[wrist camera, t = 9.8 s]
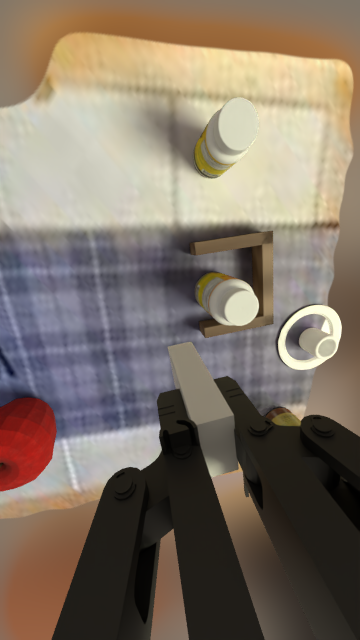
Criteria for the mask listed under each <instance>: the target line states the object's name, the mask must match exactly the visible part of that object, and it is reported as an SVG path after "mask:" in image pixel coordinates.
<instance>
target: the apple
mask: <svg viewBox="0 0 360 640" xmlns="http://www.w3.org/2000/svg"><path fill="white" fill-rule="evenodd" d="M56 432H57V431H56V423H55V416H54V413H53V410H52V409H51V407H50V406H49V405H48V404H47V403H45V402H44V401H42V400H40V399H36V398H28V397H27V398H19V399H15V400H13V401H11V402H10V403H8V404H6V405H4V406H2V407H0V491H6V490H10V489H14V488H17V487H20V486H23V485H25V484H27V483H29V482H31V481H33V480H35V479H36V478H37V477H38V476H39V474H40V473H41V472H42V471H43V470H44V469H45V467H46V466H47V465H48V463H49V462H50V461H51V459H52V455H53V448H54V442H55V437H56Z"/></svg>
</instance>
